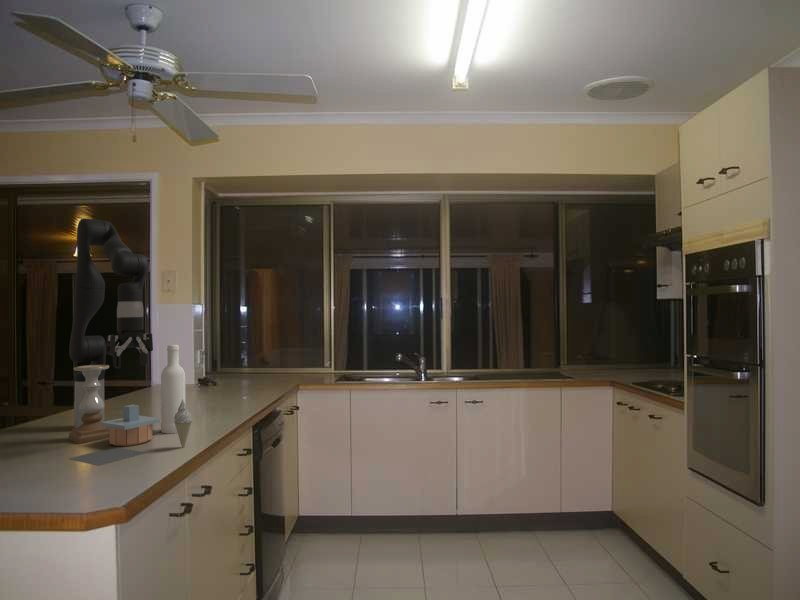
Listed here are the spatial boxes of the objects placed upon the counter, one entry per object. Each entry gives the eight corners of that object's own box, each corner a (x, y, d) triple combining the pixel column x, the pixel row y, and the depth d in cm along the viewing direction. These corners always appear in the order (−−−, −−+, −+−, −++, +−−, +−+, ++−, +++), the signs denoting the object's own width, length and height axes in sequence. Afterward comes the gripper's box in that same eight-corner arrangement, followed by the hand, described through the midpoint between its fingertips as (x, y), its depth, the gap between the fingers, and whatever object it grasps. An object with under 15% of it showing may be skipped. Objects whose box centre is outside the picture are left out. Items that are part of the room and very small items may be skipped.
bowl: (101, 445, 162) (101, 426, 162) (137, 436, 173) (136, 418, 173) (124, 449, 156) (124, 429, 156) (160, 440, 167) (160, 422, 167)
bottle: (176, 434, 176) (176, 345, 176) (156, 433, 177) (155, 345, 178) (190, 428, 183) (190, 344, 184) (170, 428, 185) (170, 344, 186)
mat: (67, 460, 146) (67, 458, 146) (115, 448, 159) (115, 446, 159) (98, 467, 139) (98, 465, 139) (146, 454, 151) (146, 452, 151)
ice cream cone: (177, 446, 159) (177, 397, 159) (194, 446, 160) (194, 397, 160) (171, 451, 154) (171, 400, 154) (189, 450, 155) (188, 400, 155)
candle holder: (115, 437, 172) (115, 365, 172) (78, 444, 164) (78, 368, 164) (104, 432, 179) (104, 363, 180) (68, 439, 171) (67, 366, 172)
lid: (101, 426, 162) (101, 407, 162) (137, 418, 173) (136, 401, 173) (124, 429, 156) (124, 410, 157) (160, 422, 167) (160, 404, 167)
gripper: (143, 315, 173) (143, 364, 173) (101, 316, 161) (101, 368, 161) (157, 315, 170) (158, 365, 170) (115, 316, 157) (115, 369, 157)
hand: (130, 366), depth 165 cm, fingers open, 8 cm apart
